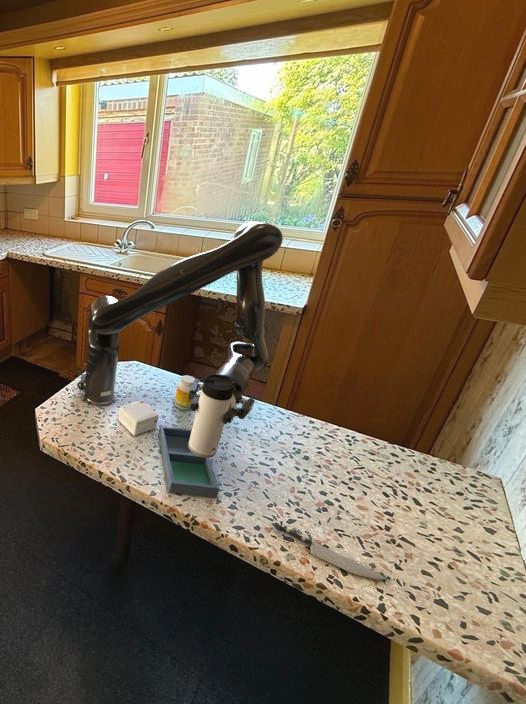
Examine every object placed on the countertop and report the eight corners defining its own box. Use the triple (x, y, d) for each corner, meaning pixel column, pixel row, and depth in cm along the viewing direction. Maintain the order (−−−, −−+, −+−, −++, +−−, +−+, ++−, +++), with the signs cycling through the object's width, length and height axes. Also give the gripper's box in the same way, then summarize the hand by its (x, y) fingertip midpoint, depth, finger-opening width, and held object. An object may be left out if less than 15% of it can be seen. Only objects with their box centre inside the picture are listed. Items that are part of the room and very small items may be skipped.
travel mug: (219, 460, 92) (240, 389, 83) (189, 456, 93) (207, 386, 84) (214, 442, 97) (233, 373, 88) (186, 438, 99) (202, 370, 89)
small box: (134, 436, 111) (136, 422, 108) (117, 420, 117) (119, 405, 115) (156, 429, 113) (159, 414, 111) (139, 413, 120) (141, 399, 117)
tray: (169, 492, 93) (171, 482, 92) (158, 434, 111) (159, 425, 110) (216, 497, 92) (219, 488, 91) (197, 438, 110) (199, 429, 109)
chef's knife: (386, 593, 73) (386, 579, 75) (389, 589, 73) (389, 576, 75) (271, 535, 83) (273, 524, 85) (272, 532, 83) (275, 521, 85)
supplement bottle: (179, 397, 127) (184, 372, 123) (195, 404, 124) (201, 378, 119) (170, 404, 124) (176, 378, 119) (187, 412, 120) (193, 385, 116)
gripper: (203, 359, 102) (180, 388, 90) (266, 378, 94) (248, 413, 82) (198, 383, 105) (174, 414, 94) (257, 404, 98) (239, 441, 86)
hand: (209, 414), depth 88 cm, fingers closed on travel mug, 6 cm apart
